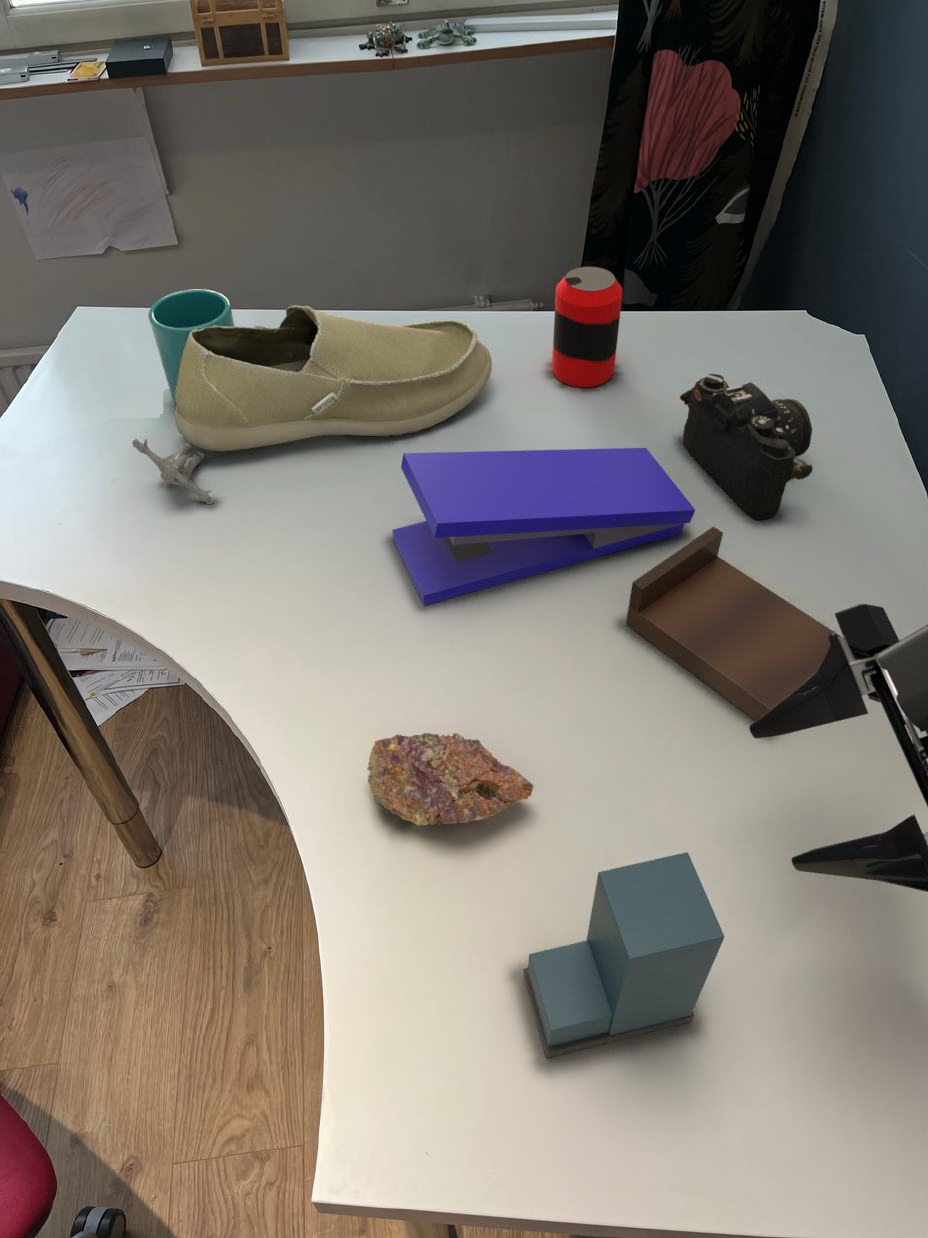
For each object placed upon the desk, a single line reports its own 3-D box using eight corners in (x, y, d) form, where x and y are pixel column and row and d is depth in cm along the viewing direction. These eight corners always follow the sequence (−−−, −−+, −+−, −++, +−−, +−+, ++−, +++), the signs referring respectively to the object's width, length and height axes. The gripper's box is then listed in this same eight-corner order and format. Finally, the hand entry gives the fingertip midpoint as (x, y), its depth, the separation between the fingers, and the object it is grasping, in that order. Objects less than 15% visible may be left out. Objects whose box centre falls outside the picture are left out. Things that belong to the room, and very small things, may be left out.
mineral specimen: (504, 714, 76) (518, 705, 70) (525, 807, 75) (542, 806, 68) (360, 745, 74) (361, 738, 68) (379, 841, 73) (382, 843, 66)
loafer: (511, 413, 108) (516, 313, 99) (194, 485, 99) (166, 382, 89) (467, 354, 117) (467, 257, 108) (172, 415, 107) (145, 314, 98)
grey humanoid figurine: (244, 463, 103) (222, 490, 95) (213, 501, 105) (189, 530, 97) (169, 403, 100) (139, 425, 92) (139, 444, 102) (108, 469, 94)
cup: (248, 357, 117) (230, 273, 109) (248, 411, 109) (229, 325, 101) (176, 364, 117) (152, 280, 108) (170, 419, 109) (144, 333, 100)
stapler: (391, 535, 94) (382, 457, 87) (638, 471, 100) (649, 393, 93) (427, 612, 86) (421, 533, 79) (691, 537, 93) (708, 458, 85)
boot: (661, 941, 65) (690, 849, 55) (692, 1022, 61) (729, 938, 51) (523, 974, 63) (528, 885, 54) (545, 1058, 59) (556, 979, 50)
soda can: (543, 360, 115) (547, 268, 106) (600, 350, 117) (609, 258, 108) (563, 393, 110) (569, 299, 102) (623, 382, 112) (634, 288, 103)
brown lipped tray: (846, 663, 81) (864, 621, 77) (768, 731, 76) (784, 689, 72) (703, 568, 90) (713, 525, 86) (625, 624, 85) (632, 581, 81)
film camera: (849, 482, 98) (878, 402, 91) (776, 533, 93) (800, 453, 85) (717, 409, 107) (734, 331, 100) (644, 452, 102) (656, 373, 95)
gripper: (960, 502, 52) (694, 604, 57) (1143, 788, 39) (779, 887, 44) (983, 617, 59) (746, 699, 64) (1144, 889, 46) (832, 964, 51)
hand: (771, 795), depth 56 cm, fingers open, 9 cm apart
